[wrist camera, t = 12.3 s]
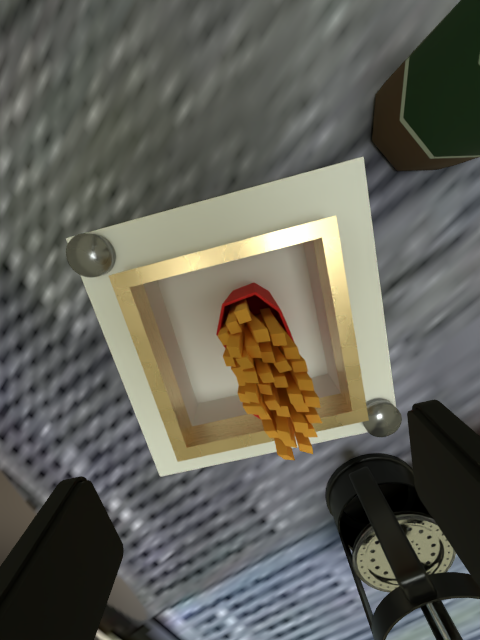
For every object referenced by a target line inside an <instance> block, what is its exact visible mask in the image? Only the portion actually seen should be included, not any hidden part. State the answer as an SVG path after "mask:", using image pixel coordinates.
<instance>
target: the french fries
mask: <svg viewBox="0 0 480 640" xmlns="http://www.w3.org/2000/svg"><path fill="white" fill-rule="evenodd" d="M216 335H217V336H218V338H219V340H220V341H221V343H222V344H223V346H224V347H225V351H224V354H223V359H224V361H225V364H226V366H231V370H232V371H233V373H234V374H235V376H236V377H237V381H238V385H239V386H238V396H239V399H240V402H243V408H244V409H245V411H246V413H247V414H253V415H254V416H256V417H257V418H259V419H261V420H262V424H263V428H264V431H265V433H266V434H267V435H268V436H269V437H270V438H274V441H275V445H276V450H277V454H278V455H279V456H280V457H282V458H283V459H287V460H295V459H294V455H293V452H292V448H291V447H295V448H297V444H296V440H297V443H298V446H299V449H300V451H303V452H307V453H311V454H313V449H312V445H311V443H310V440H309V438H308V437H318V436H317V434H316V432H315V429H314V428H313V426H312V424H311V423H322V421H321V419H320V417H319V415H318V413H317V411H316V409H315V407H316V408H321V407H320V401H319V397H318V395H317V394H316V393H315V391H314V387H313V381H312V379H311V378H310V376H309V375H308V373H307V372H308V369H307V365H306V361H305V360H304V359H303V358H302V356H301V355H300V354H299V351H298V347H297V346H296V344H295V343H294V340H293V337H292V335H291V332H290V330H289V327H288V325H287V323H286V320H285V318H284V316H283V313H282V311H281V309H280V308H279V306H278V304H277V303H276V301H275V300H274V298H273V297H272V295H271V293H270V292H269V291H268V290H266V289H265V288H263V287H261V286H259V285H258V284H256V283H251V284H248V285H246V286H243V287H241V288H238V289H236V290H233V291H232V292H231V293H230V295H229V296H228V297H227V299H226V300H225V301H224V303H223V304H222V307H221V313H220V318H219V323H218V328H217V333H216ZM294 434H295V435H294ZM295 437H296V440H295Z"/></svg>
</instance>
